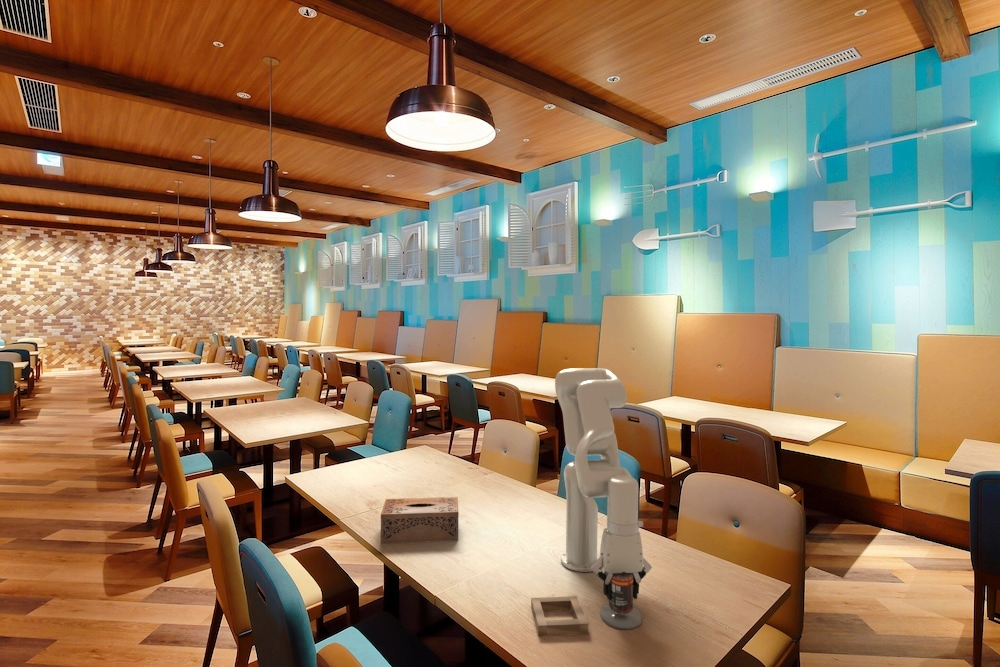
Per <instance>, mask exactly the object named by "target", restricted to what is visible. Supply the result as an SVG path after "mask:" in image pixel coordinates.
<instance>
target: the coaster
mask: <svg viewBox="0 0 1000 667" xmlns="http://www.w3.org/2000/svg"><path fill="white" fill-rule="evenodd" d="M600 617H601V620H602V621H603V622H604V623H605V624H606V625H608V626H610V627H612V628H614V629H618V630H633V629H637V628H638V627H639V626H641V624H642V614H641V613H640V611H639V610H638V609H636V608H635V607H633V610H632V611H631V612H629V613H626V614H621V613H617V612H614V611H613V610H612V609H611V608H610V606H609V603H608V604H605V605H604V606H603V607H602V608H601V609H600Z"/></svg>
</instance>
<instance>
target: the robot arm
mask: <svg viewBox="0 0 1000 667" xmlns="http://www.w3.org/2000/svg"><path fill="white" fill-rule="evenodd" d="M554 379H555V380H554V388H555V393H556V394H555V395H556V397H557V400H558V403H559V406H560V408H561V412H562V418H563V428H564V429H563V431H564V440H565V447H566V449H567V452H568V453H569V454H570V455H572V456H574V460H573V461H571V462H569V463H567V464H566V465H565V467H564V470H563V479H564V486H565V494H566V499H565V500H566V516H565V517H566V518H565V519H566V525H565V526H566V527H565V529H566V530H565V534H566V535H565V539H566V540H565V551H564V552H563V553H562V554H561V556H560V562H561V564H562V565H563V566H564V567H565V568H567V569H569V570H572V571H575V572H581V573H590V572H593V573H595V575H596V576H598V578H600V580H602V582H603V585H602V586H603V591H602V592H603V595H604V596H606V598H607V600H608V601H609V600H611V593H612V585H611V583H610V580H611V578H612V575H613V574H615V573H622V572H626V573H632V574H633V600H637V599H638V594H639V593H640V583H641V582H642V579H643V578H645V577H646V575H647V574H648V572H650V571H651V569H652V568H653V566H652V565H651V564H650V562H648V560H647V559H646V558H644V555H643V554H644V553H643V544H642V537H641V533H640V530H639V529H640V528H641V527H642V528H643V527H644V521H642V520H639V483H638V480H637V479H636V478H634V477H633V476H632V475H631V473H630V472H629V471H628V469H627V468H625V467H622V466H621V462H620V455H619V449H618V448H619V447H618V440H617V435H616V433H615V424H614V421H613V416H612V413H611V412H612V411H611V409H620V408H623V407H624V406H625V405H626V403H627V400H628V396H627V390H626V387H625V385H624V384H623V382H622V380H621V379H620V378H619V377H618V376H616V375H615V374H614V373H613V372H612V371H611V370H609V369H607V368H601V367H596V368H595V367H594V368H593V367H591V368H590V367H587V368H586V367H585V368H583V367H577V368H576V367H575V368H573V367H572V368H565V369H563V370H560V371H558V372H557V374H556V376H555V378H554ZM588 456H599V457H600V459H588ZM594 498H595V499H596V498H597V499H598V498H607V499H606V500H607V501H606V502H607V508H606V511H607V512H606V528H605V527H604V529H603V531H602V535H601V541H600V548H599V554H598V529H599V528H598V525H599V524H598V523H599V522H598V520H599V518H598V517H599V516H598V515H599V508H598V503H597V502H596V501H595V500H594ZM602 567H603V571H602V570H601V569H600V568H602ZM652 570H653V569H652Z"/></svg>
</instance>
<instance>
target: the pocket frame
mask: <svg viewBox="0 0 1000 667" xmlns="http://www.w3.org/2000/svg"><path fill="white" fill-rule="evenodd" d="M530 600H531V602H530V603H531V604H530V605H531V606H530V609H531V612H532V615H533V619H534V623H535V628H536V632H537V636H538V637H548V636H550V637H551V636H568V635H569V636H570V635H571V636H572V635H588V634H589V622H588V620H587V618H586V615H585V613H584V610H583V607H582V606H581V602H579V599H578V597H577V595H570V596H548V597H547V596H546V597H545V596H544V597H531V598H530ZM558 611H559V612H560V611H562V612H563V611H570V612H571V615H572V617H573V618H572V619H550V620H549V619H548V620H547V619H546V618H545V614H544V612H558Z"/></svg>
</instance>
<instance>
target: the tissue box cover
mask: <svg viewBox="0 0 1000 667" xmlns="http://www.w3.org/2000/svg"><path fill="white" fill-rule="evenodd" d="M458 502H459V500H458V496H444V497H415V498H414V497H413V498H410V497H409V498H406V497H405V498H386V499H385V501H384V504H383V507H382V510H381V513H380V544H397V543H398V544H401V543H403V544H404V543H423V542H425V543H427V541H429V542H446V541H447V542H450V541H459V503H458Z"/></svg>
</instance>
